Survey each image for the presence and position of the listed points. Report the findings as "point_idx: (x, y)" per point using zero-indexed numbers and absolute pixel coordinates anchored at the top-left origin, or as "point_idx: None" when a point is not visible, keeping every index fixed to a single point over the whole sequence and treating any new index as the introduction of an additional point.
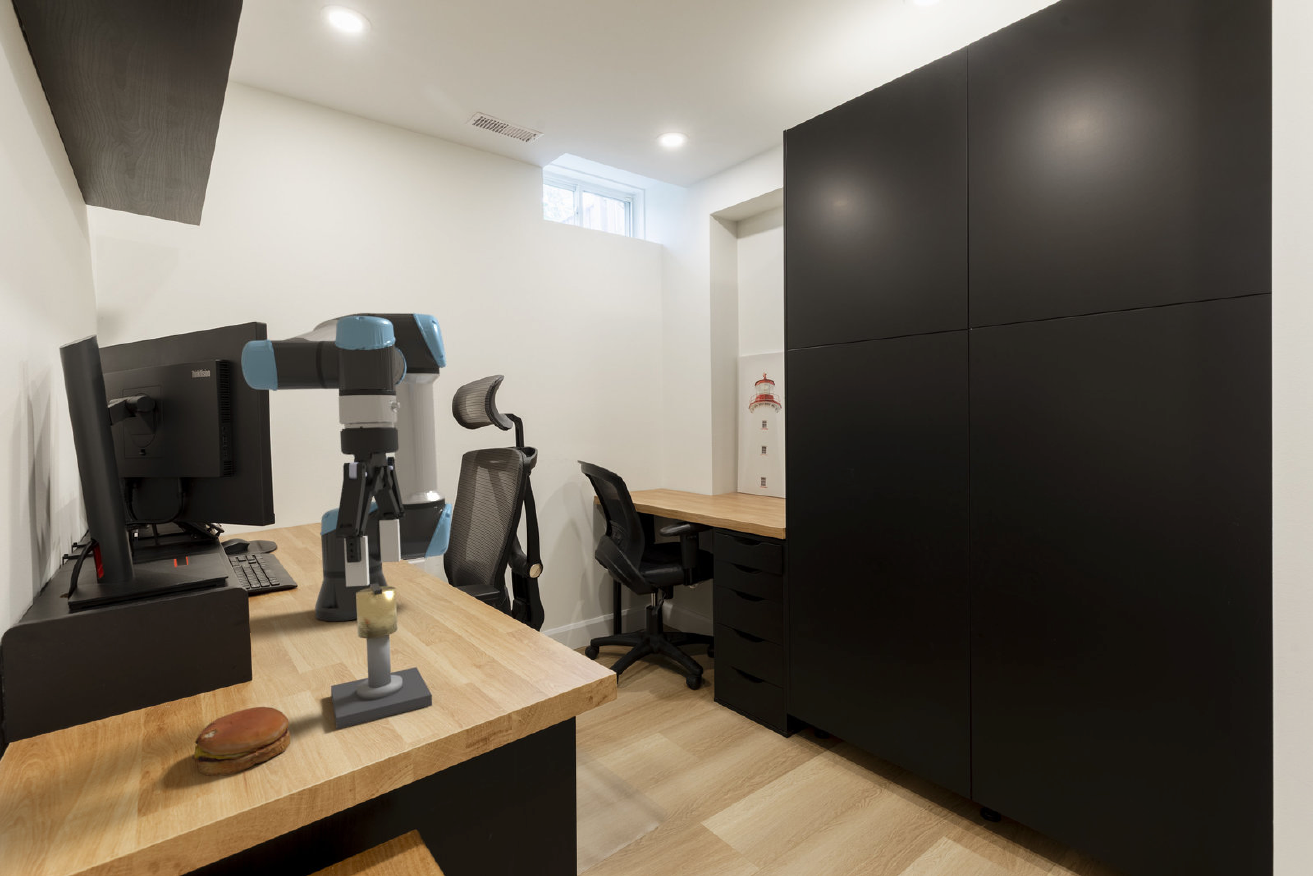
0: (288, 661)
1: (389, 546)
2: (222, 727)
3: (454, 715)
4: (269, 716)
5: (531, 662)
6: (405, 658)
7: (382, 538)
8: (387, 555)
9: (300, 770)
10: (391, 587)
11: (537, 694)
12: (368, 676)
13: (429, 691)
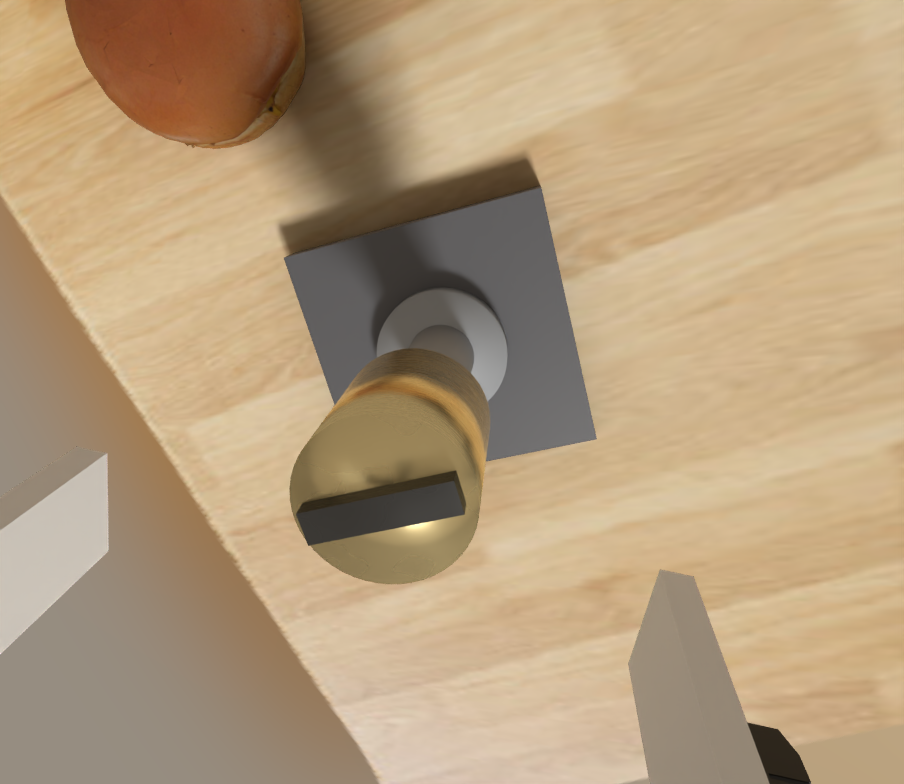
0: None
1: (661, 699)
2: None
3: None
4: (173, 93)
5: (565, 704)
6: (791, 381)
7: (693, 712)
8: (654, 637)
9: (104, 210)
10: (431, 565)
11: (355, 687)
12: (424, 335)
13: None
